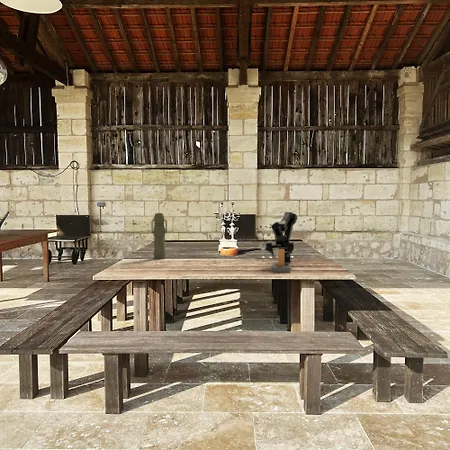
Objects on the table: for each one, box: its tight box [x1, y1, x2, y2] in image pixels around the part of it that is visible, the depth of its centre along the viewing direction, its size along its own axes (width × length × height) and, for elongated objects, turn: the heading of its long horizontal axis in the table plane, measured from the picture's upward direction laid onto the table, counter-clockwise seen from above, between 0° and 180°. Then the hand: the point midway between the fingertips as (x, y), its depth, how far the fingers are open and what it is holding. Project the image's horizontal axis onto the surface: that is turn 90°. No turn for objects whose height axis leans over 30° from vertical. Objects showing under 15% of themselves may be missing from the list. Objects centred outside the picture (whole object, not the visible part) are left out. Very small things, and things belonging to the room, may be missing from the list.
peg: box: [277, 248, 286, 266], centre depth 259 cm, size 4×4×13 cm
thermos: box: [150, 212, 168, 260], centre depth 309 cm, size 9×12×35 cm
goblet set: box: [258, 240, 296, 259], centre depth 314 cm, size 28×6×13 cm, turn 92°
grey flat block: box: [271, 261, 291, 273], centre depth 259 cm, size 20×10×3 cm, turn 176°
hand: (280, 256), depth 266 cm, fingers open, 9 cm apart
